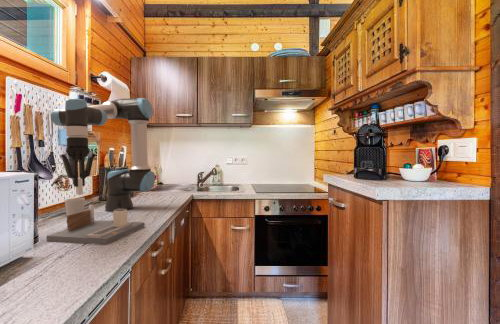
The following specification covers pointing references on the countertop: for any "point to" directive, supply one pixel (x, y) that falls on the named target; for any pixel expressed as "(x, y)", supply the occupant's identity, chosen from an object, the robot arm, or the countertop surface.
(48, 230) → the countertop surface
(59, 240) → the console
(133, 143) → the robot arm
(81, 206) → the cup
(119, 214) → the fader knob
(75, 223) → the door
